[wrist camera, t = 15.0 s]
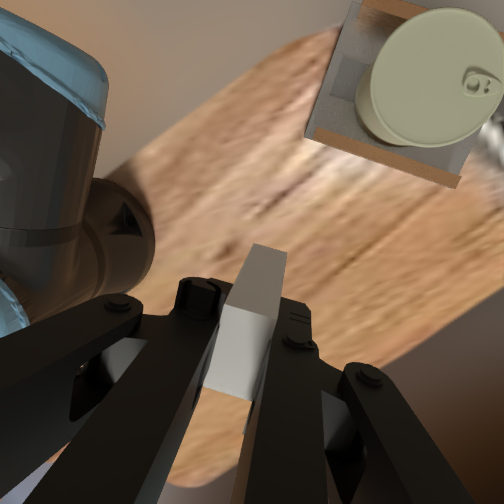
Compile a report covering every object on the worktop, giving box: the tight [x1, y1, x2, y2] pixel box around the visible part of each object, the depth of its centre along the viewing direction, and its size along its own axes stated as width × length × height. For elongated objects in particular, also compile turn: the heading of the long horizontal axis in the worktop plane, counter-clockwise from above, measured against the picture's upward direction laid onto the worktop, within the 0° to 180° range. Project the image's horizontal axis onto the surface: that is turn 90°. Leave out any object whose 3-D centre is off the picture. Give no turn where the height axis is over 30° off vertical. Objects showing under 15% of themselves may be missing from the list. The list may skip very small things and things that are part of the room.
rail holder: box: [304, 0, 504, 189], centre depth 37 cm, size 16×13×5 cm
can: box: [355, 7, 504, 147], centre depth 33 cm, size 9×9×12 cm
